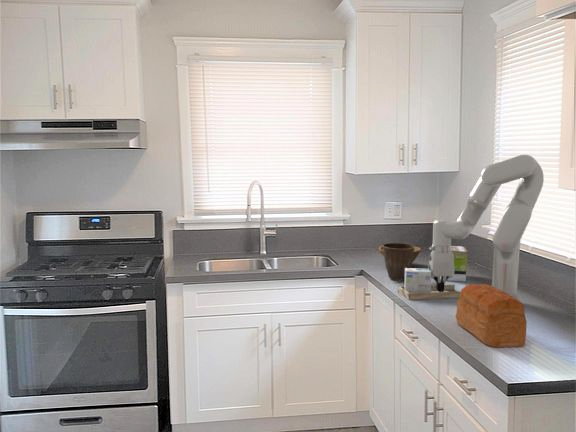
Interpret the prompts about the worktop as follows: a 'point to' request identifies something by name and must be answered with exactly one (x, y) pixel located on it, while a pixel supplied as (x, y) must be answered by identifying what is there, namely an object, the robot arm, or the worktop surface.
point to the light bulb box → (417, 280)
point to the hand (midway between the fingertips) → (440, 291)
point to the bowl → (415, 254)
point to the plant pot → (397, 259)
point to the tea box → (459, 263)
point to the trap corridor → (448, 293)
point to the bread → (492, 316)
